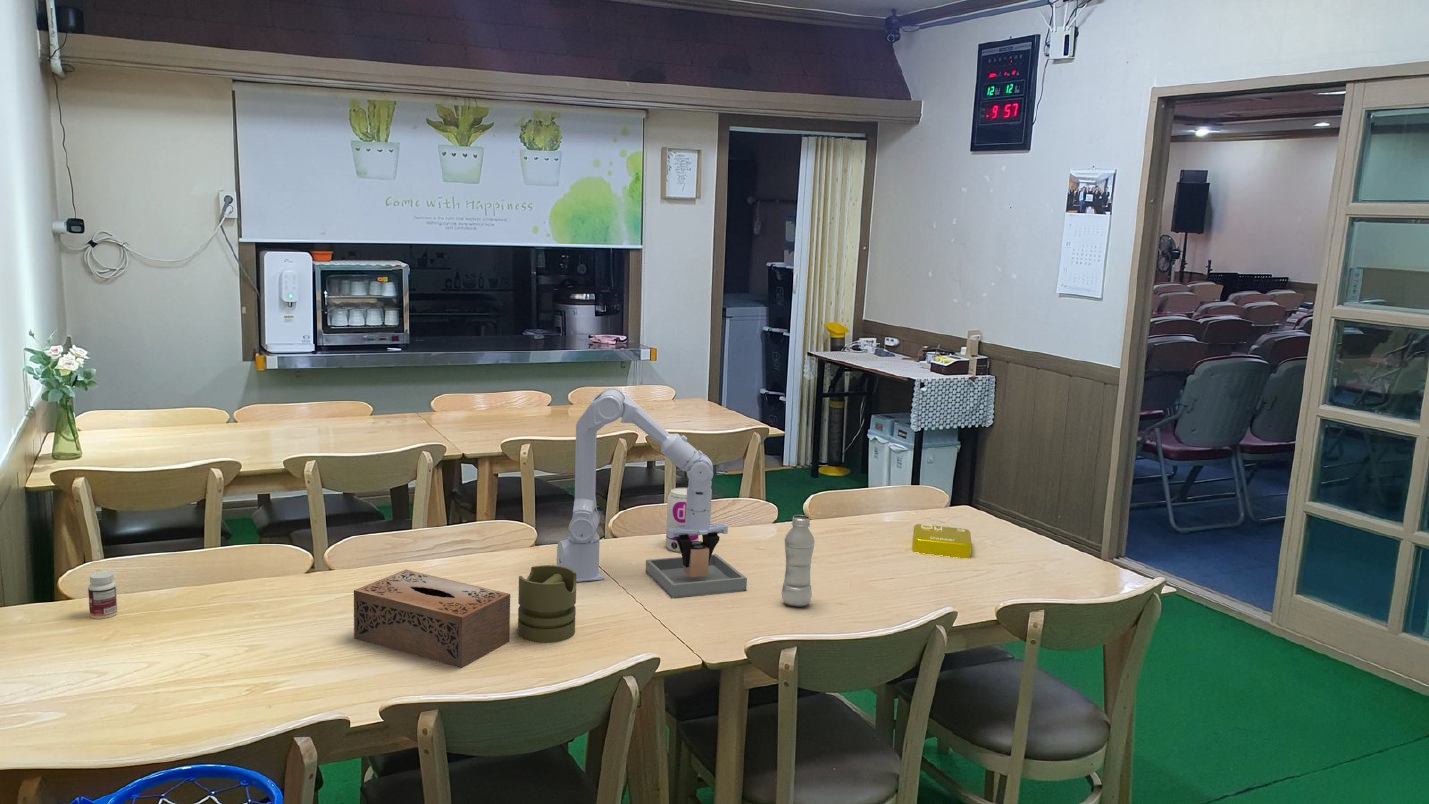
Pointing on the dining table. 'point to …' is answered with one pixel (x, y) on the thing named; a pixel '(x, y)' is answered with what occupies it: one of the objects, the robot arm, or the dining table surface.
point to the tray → (682, 585)
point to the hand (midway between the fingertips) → (695, 565)
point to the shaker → (698, 560)
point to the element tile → (942, 541)
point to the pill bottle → (102, 595)
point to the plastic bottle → (798, 563)
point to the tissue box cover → (432, 617)
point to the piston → (547, 604)
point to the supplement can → (677, 515)
